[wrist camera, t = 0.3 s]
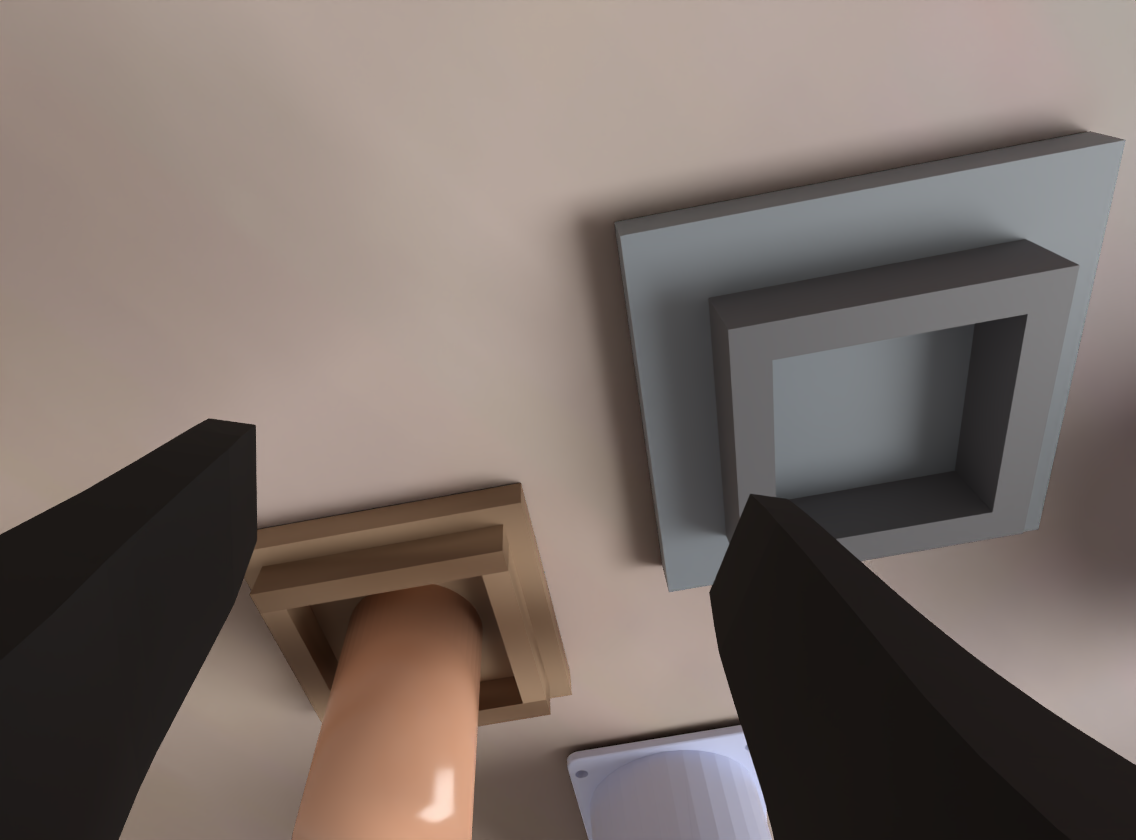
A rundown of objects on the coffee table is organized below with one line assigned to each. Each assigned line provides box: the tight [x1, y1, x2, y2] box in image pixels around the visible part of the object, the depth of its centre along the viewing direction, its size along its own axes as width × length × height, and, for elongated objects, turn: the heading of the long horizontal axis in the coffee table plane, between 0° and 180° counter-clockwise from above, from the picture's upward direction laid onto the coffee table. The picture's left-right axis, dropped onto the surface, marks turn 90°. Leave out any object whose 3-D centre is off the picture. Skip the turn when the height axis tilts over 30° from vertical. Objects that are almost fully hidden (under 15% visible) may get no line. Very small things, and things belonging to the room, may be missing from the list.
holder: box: [244, 483, 572, 726], centre depth 24 cm, size 9×9×2 cm
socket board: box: [614, 131, 1125, 592], centre depth 20 cm, size 12×12×3 cm
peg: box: [292, 584, 483, 840], centre depth 21 cm, size 4×4×7 cm
